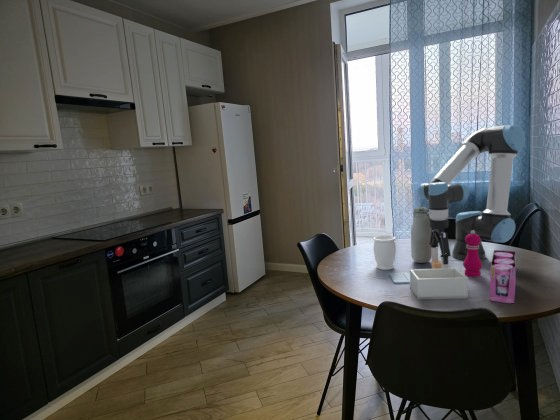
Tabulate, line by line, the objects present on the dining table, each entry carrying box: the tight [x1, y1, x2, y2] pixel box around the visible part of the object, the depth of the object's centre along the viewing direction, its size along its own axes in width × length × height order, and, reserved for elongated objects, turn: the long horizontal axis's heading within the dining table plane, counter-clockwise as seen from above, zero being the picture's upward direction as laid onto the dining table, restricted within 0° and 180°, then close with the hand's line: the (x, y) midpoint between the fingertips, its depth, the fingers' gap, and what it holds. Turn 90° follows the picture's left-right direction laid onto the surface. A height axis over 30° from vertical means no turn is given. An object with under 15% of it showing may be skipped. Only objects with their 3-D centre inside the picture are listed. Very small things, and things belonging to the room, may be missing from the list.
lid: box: [388, 260, 441, 285], centre depth 163 cm, size 23×13×7 cm, turn 84°
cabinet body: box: [409, 267, 469, 301], centre depth 145 cm, size 18×12×8 cm, turn 84°
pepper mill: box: [463, 230, 483, 278], centre depth 162 cm, size 7×7×20 cm
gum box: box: [489, 249, 517, 304], centre depth 141 cm, size 24×8×14 cm, turn 148°
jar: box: [373, 235, 397, 271], centre depth 181 cm, size 11×10×15 cm
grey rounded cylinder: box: [410, 206, 432, 264], centre depth 184 cm, size 10×10×28 cm
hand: (439, 266), depth 162 cm, fingers open, 13 cm apart
